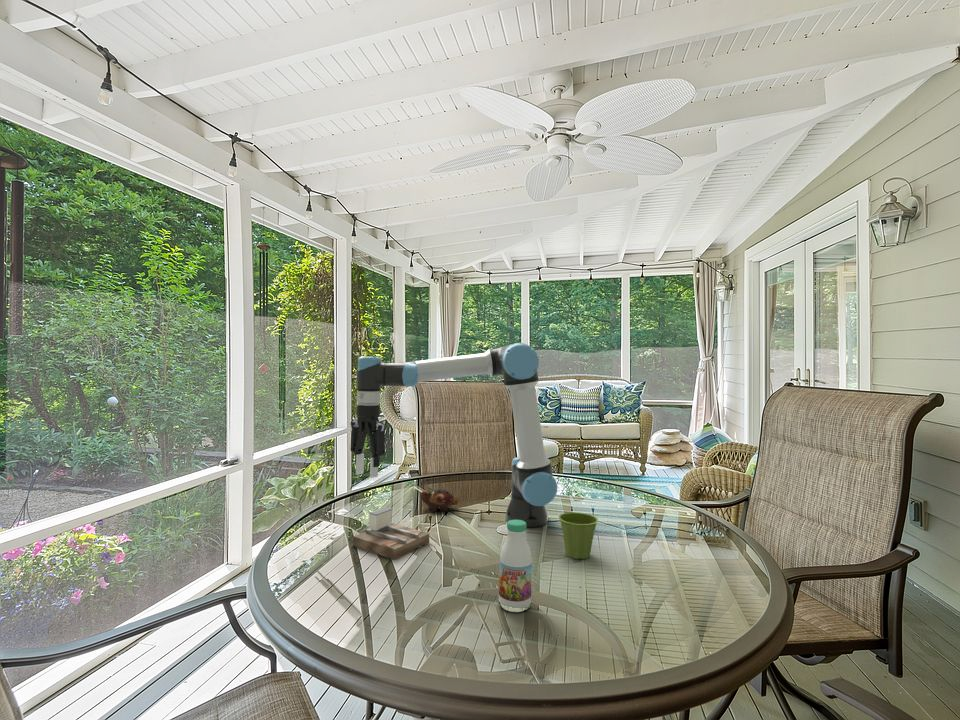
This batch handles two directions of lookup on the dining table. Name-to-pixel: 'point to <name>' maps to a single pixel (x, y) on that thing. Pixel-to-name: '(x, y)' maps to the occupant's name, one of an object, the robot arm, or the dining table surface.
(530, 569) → the milk bottle
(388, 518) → the fader knob
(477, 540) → the dining table surface
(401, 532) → the fader console
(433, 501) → the decorative turtle
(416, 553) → the dining table surface
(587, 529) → the plant pot
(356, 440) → the robot arm
